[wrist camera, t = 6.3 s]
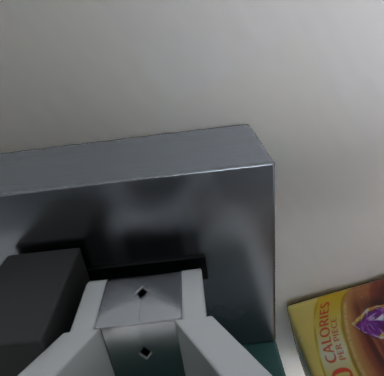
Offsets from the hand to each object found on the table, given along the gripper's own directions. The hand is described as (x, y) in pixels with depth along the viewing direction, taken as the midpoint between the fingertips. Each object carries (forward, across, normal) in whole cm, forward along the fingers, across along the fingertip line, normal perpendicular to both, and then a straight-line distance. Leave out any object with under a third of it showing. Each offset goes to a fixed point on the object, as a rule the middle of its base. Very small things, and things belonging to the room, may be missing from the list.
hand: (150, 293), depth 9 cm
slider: (+1, +3, 0) cm, 3 cm away
